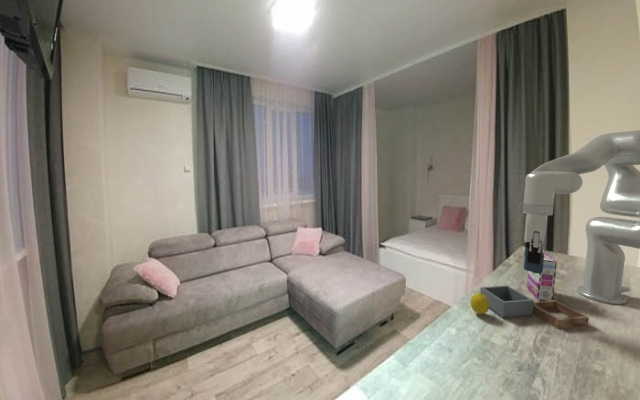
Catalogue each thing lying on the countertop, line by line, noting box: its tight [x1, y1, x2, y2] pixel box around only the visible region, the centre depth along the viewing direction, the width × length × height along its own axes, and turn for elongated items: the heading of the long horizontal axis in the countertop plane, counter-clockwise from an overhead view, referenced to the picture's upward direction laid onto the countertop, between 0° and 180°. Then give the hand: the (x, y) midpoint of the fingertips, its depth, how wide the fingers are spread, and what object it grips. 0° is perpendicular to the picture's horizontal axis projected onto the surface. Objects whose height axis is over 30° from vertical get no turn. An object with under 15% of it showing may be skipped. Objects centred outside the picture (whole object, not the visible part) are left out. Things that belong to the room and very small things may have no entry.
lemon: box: [470, 293, 490, 316], centre depth 86 cm, size 6×6×8 cm
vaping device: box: [523, 241, 544, 274], centre depth 83 cm, size 3×5×12 cm, turn 27°
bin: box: [479, 284, 535, 320], centre depth 89 cm, size 11×11×6 cm
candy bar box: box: [526, 252, 558, 301], centre depth 97 cm, size 11×5×16 cm, turn 156°
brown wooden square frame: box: [533, 299, 590, 330], centre depth 83 cm, size 11×11×3 cm
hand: (533, 260), depth 84 cm, fingers closed on vaping device, 3 cm apart
